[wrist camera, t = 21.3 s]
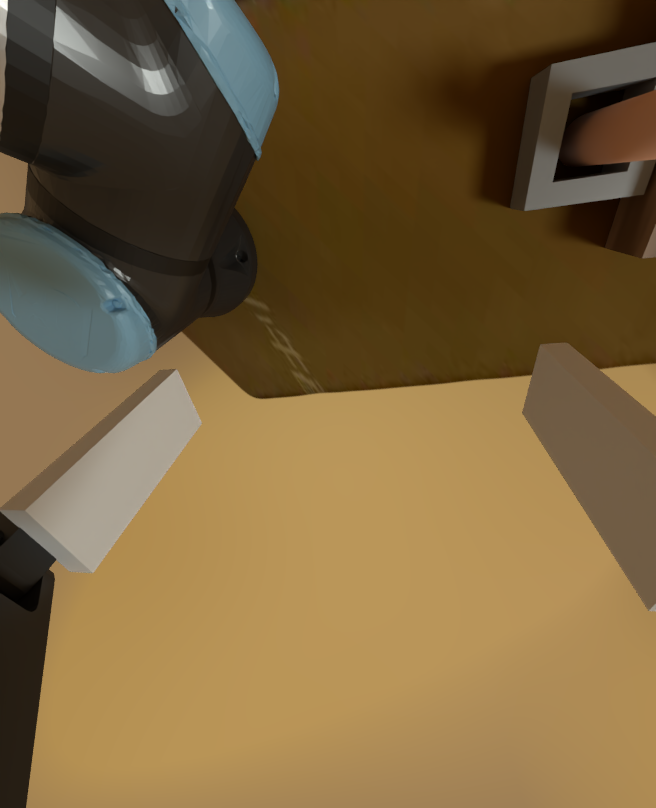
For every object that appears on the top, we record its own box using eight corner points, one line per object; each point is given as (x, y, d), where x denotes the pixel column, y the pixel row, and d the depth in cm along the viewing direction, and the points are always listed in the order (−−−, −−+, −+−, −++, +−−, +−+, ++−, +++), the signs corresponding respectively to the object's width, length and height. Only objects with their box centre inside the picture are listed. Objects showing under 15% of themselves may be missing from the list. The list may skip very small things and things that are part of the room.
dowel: (549, 143, 30) (654, 118, 19) (594, 100, 28) (742, 42, 17) (570, 177, 31) (680, 172, 20) (614, 138, 29) (765, 108, 18)
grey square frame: (509, 208, 33) (524, 210, 30) (531, 77, 28) (551, 64, 25) (616, 193, 32) (643, 194, 28) (662, 50, 26) (702, 32, 23)
